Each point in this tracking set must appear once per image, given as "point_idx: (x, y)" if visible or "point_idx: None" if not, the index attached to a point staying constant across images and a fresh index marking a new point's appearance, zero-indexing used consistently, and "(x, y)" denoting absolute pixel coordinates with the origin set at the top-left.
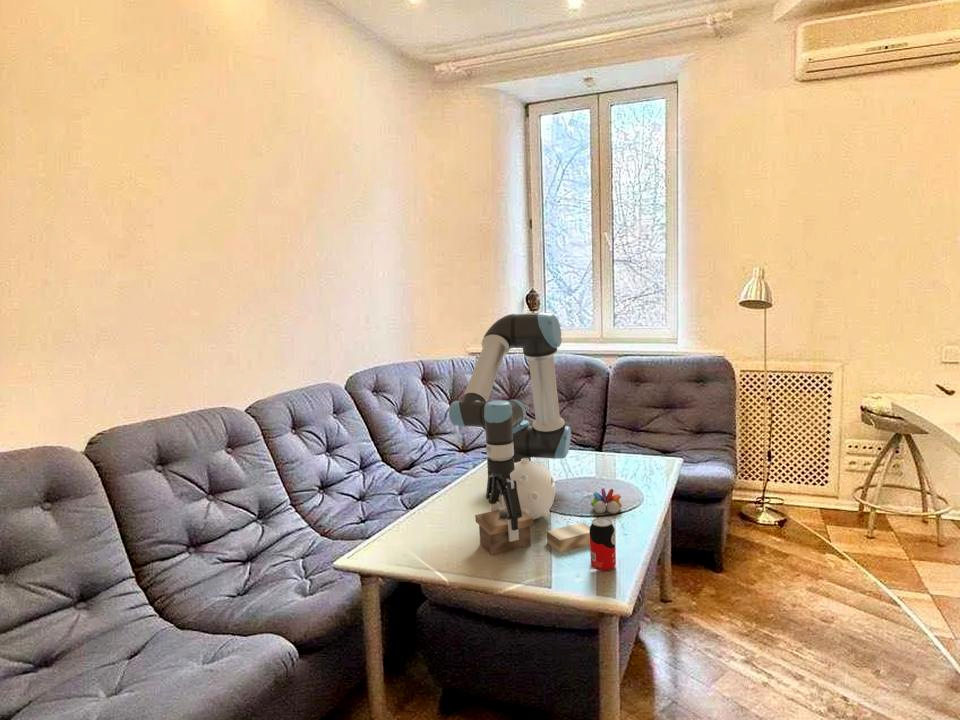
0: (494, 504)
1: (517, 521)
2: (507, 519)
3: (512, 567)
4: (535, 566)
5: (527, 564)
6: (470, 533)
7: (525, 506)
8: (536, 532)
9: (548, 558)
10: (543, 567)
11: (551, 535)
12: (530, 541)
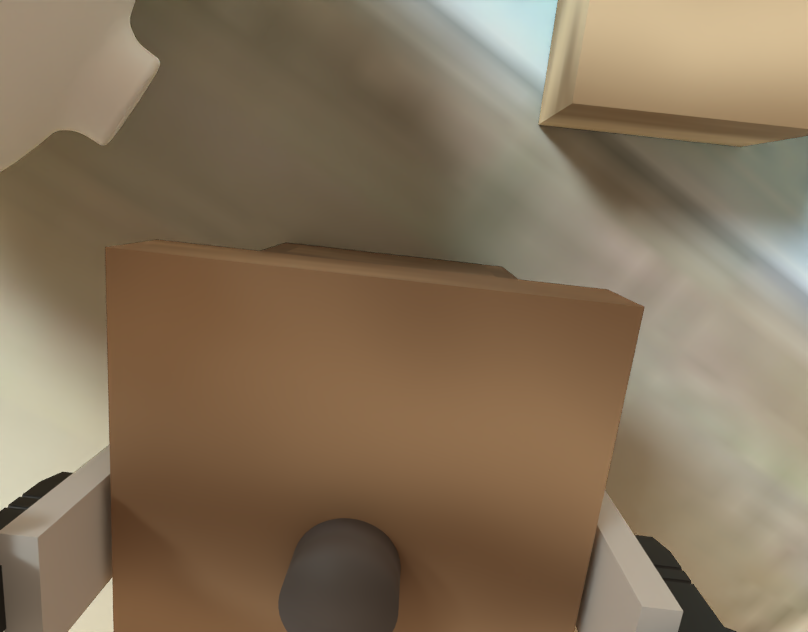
0: (42, 610)
1: (712, 616)
2: (456, 579)
3: (658, 521)
4: (753, 403)
5: (693, 428)
6: (35, 481)
7: (78, 53)
8: (284, 54)
9: (727, 262)
10: (804, 369)
11: (663, 115)
12: (511, 275)
